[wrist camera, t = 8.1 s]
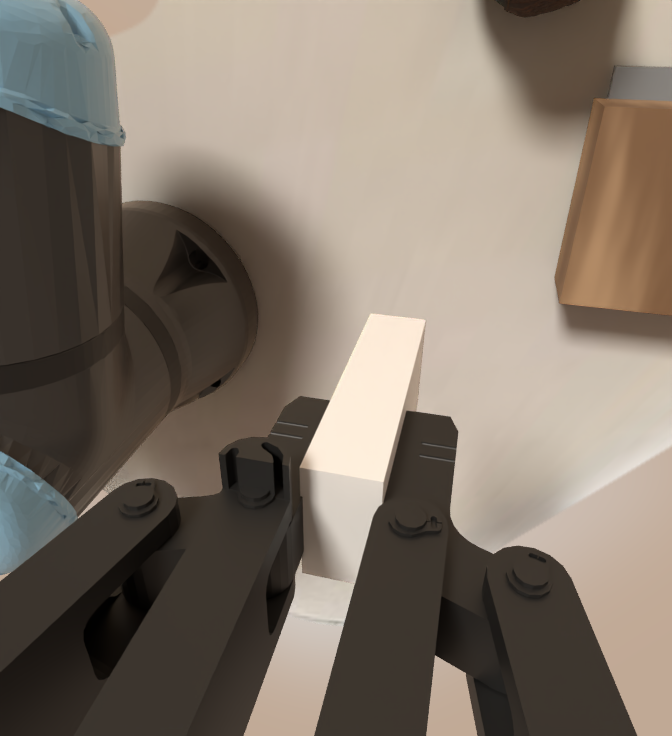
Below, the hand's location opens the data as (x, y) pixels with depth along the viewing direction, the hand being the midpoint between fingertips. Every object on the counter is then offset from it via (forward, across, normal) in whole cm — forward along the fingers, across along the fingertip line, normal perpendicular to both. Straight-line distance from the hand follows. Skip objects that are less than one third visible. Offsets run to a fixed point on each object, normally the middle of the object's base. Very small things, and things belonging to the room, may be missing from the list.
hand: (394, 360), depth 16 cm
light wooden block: (+20, +7, 0) cm, 21 cm away
